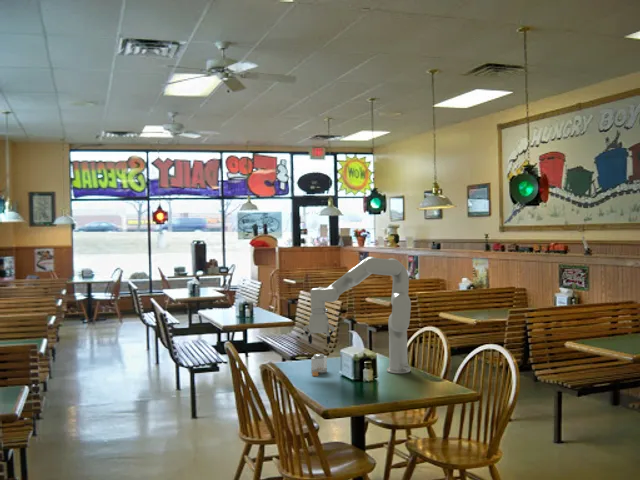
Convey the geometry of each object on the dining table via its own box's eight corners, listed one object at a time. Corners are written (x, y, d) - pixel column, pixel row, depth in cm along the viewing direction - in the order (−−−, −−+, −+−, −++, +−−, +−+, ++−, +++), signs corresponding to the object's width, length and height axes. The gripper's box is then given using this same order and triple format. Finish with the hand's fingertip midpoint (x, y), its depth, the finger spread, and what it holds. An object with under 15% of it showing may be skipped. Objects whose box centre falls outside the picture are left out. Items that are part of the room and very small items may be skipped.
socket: (324, 370, 328) (323, 356, 328) (311, 369, 330) (311, 356, 330) (326, 367, 335) (326, 353, 335) (314, 366, 337) (314, 353, 336)
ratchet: (322, 376, 323) (322, 365, 323) (307, 375, 325) (307, 365, 325) (328, 370, 336) (328, 360, 336) (313, 370, 338) (313, 359, 338)
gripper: (335, 310, 333) (336, 342, 334) (304, 310, 337) (305, 342, 338) (332, 312, 326) (333, 344, 326) (300, 312, 330) (302, 344, 331)
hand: (319, 343), depth 332 cm, fingers open, 9 cm apart
